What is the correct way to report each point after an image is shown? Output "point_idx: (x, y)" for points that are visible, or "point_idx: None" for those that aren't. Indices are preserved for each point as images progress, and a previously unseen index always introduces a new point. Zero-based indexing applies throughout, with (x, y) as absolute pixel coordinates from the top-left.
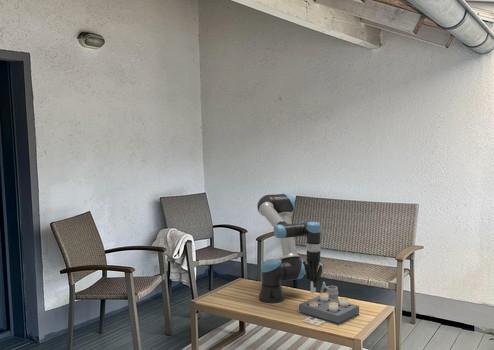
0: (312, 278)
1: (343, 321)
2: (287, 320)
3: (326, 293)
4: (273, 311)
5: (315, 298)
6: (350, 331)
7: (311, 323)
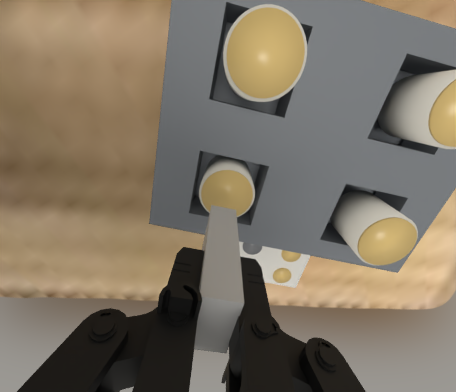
0: (184, 346)
1: None
2: None
3: (283, 30)
4: (59, 232)
5: (181, 58)
6: (421, 273)
7: (267, 282)
